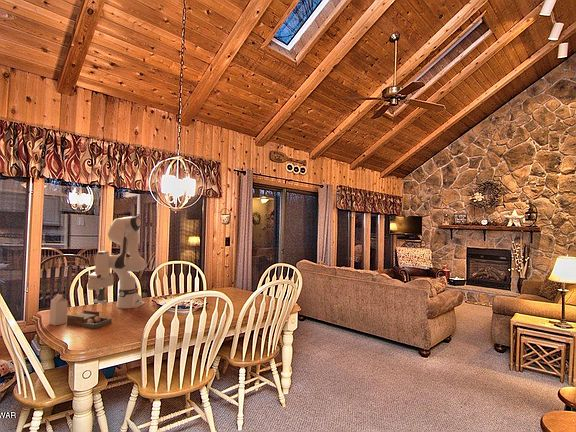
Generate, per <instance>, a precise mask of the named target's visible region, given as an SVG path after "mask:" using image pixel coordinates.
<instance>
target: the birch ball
mask: <svg viewBox="0 0 576 432" xmlns="http://www.w3.org/2000/svg"><path fill="white" fill-rule="evenodd" d="M100 317H101V316H100V315H99V316H96V317H95V318H94V322H99V321H100V320H101V318H100Z"/></svg>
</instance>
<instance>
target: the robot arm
mask: <svg viewBox="0 0 576 432" xmlns="http://www.w3.org/2000/svg"><path fill="white" fill-rule="evenodd" d="M141 226H142V220H141V218H139V216H124V217H118V218H117V217H116V218H115V219H114V220H113V221H112V223H111V225H110V226H109V230H108V233H107V237H108V239H109V241H111V242H113V243H115V244H116V245H119V246H120V250H119V254H110V252H109V251H108V250H99V251H97V252H96V255H95V260H94V265H95V268H94V272H91V273H90V274H88V281H87V289H88V290H90V291H93V290H94V291H95V292H96V294H95V295H100V292H99V288H104V294H106V290H107V288H108V287H112V286H113V285H114V274H113V273H112V272H110V269H111V270H112V271H113V272H115V273H116V274H117V277H118V279H119V289H118V295H117V302H116V304H115V306H116V308H117V309H135V308H139V307H141V306H143V305H144V304H145V303H146V302H145V301H143V297H142V296H141V295H140V294H139V293H137V291H139V288H138V287H136V278H135V277H134V276H132V275H131V274H129V273H128V272H141V271H144V270H145V268H146V267H147V262H146V260H145V258H144V257H142V256H141V254H140V251H139V243H140V242H139V239H140V236H139V230H140V228H141ZM127 255H129V256H128V257H127Z"/></svg>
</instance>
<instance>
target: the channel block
mask: <svg viewBox="0 0 576 432" xmlns="http://www.w3.org/2000/svg"><path fill="white" fill-rule="evenodd" d="M96 316H99V317H100V311H96V310H95V311H94V310H88V309H87V310H86V309H84V310H83V312H81V313H78V314H75V315H72V314H67V323H66V326H68V327H77V328H82V323H83V322H84V323H87V320H88V319H93V321H94V318H95V317H96Z"/></svg>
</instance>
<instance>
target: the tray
mask: <svg viewBox="0 0 576 432" xmlns="http://www.w3.org/2000/svg"><path fill="white" fill-rule="evenodd" d="M99 317H100V318H101V320H100V321H99V322H93V324H92V323H84V322H83V323H82V327H81V328H83V329H90V330H96V329H100V328H102V327H105V326H108V325H110V324H112V318H109V317H103V316H102V317H101V316H99Z"/></svg>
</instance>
